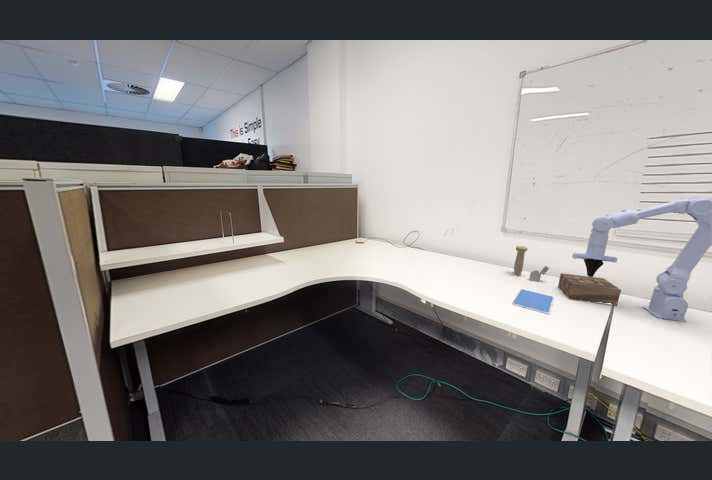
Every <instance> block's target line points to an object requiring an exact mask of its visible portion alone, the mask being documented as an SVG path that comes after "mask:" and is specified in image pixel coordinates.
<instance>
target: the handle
mask: <svg viewBox="0 0 712 480" xmlns="http://www.w3.org/2000/svg"><path fill="white" fill-rule="evenodd" d="M515 250H516V251H517V252H516V255H515V256H516V257H515V261H514V267H513V271H514V272H513V275H515V276H521V275H522V272H523V267H524V264H525V263H524V261H525V254H526V253H525V252H527V251H528V247H526V246H524V245H523V246H522V245H516V246H515Z"/></svg>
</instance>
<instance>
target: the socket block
mask: <svg viewBox="0 0 712 480" xmlns="http://www.w3.org/2000/svg"><path fill="white" fill-rule="evenodd" d="M583 279H586V280H591V281H594V282H595V283H587V282H583V281H582V280H583ZM557 288H558V289H559V290H560V291H561V292H562V293H563V294H564V295H565V296H566V298H568V299H569V300H575V301H580V300H582V302H587V301H590V302H589V303H594V302H602V303H611V304H612V305H611V306H615V307H617V306H618V304H619V301H620V300H619V299H620V296H621V292H622V289H620V288H619V287H617V286H616V285H614V284H612V283H611V282H610V281H608V280H607V279H605V278H603V277H598V276H597V277H594V276H593V277H589V276H588V275H578V274H570V273H561V272H560V275H559V281H558V285H557Z"/></svg>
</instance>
